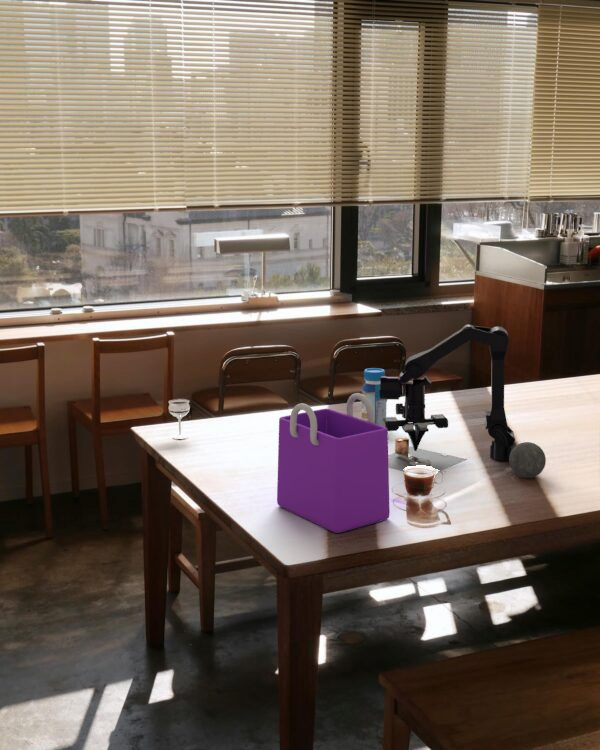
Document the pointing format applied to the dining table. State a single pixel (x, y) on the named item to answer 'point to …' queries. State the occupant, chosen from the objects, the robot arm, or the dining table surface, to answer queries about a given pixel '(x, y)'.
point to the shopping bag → (333, 467)
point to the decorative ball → (527, 460)
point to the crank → (403, 451)
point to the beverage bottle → (374, 394)
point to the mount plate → (436, 459)
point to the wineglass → (179, 409)
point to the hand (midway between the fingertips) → (415, 450)
